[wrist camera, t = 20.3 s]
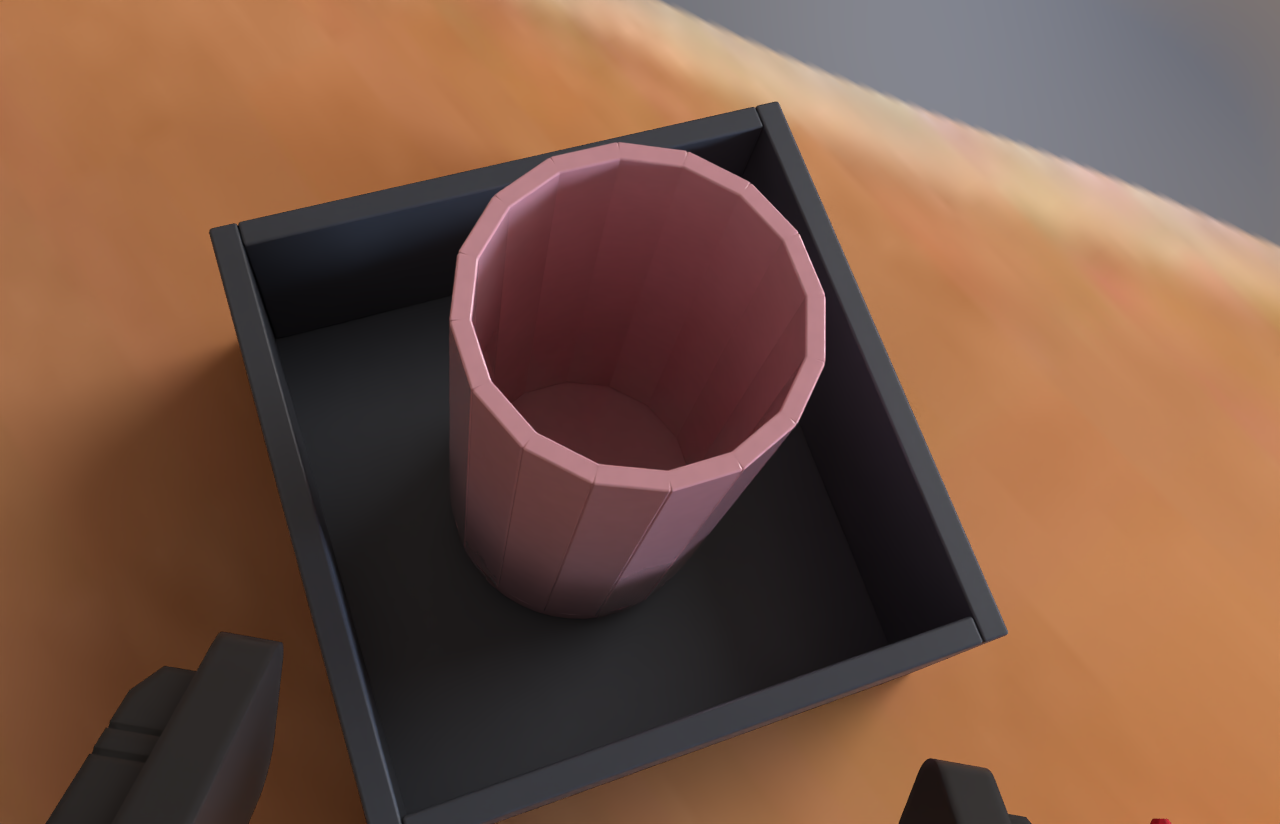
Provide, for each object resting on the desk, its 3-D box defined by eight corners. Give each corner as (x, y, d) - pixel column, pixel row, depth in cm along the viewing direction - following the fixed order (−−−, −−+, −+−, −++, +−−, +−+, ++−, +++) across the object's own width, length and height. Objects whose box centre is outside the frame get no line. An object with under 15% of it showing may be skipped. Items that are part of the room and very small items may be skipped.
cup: (651, 353, 31) (749, 111, 21) (734, 575, 30) (882, 428, 20) (421, 415, 30) (406, 188, 20) (493, 653, 28) (518, 537, 18)
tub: (728, 215, 34) (778, 99, 29) (913, 671, 30) (1010, 633, 25) (249, 334, 31) (207, 228, 25) (390, 860, 27) (376, 861, 22)
